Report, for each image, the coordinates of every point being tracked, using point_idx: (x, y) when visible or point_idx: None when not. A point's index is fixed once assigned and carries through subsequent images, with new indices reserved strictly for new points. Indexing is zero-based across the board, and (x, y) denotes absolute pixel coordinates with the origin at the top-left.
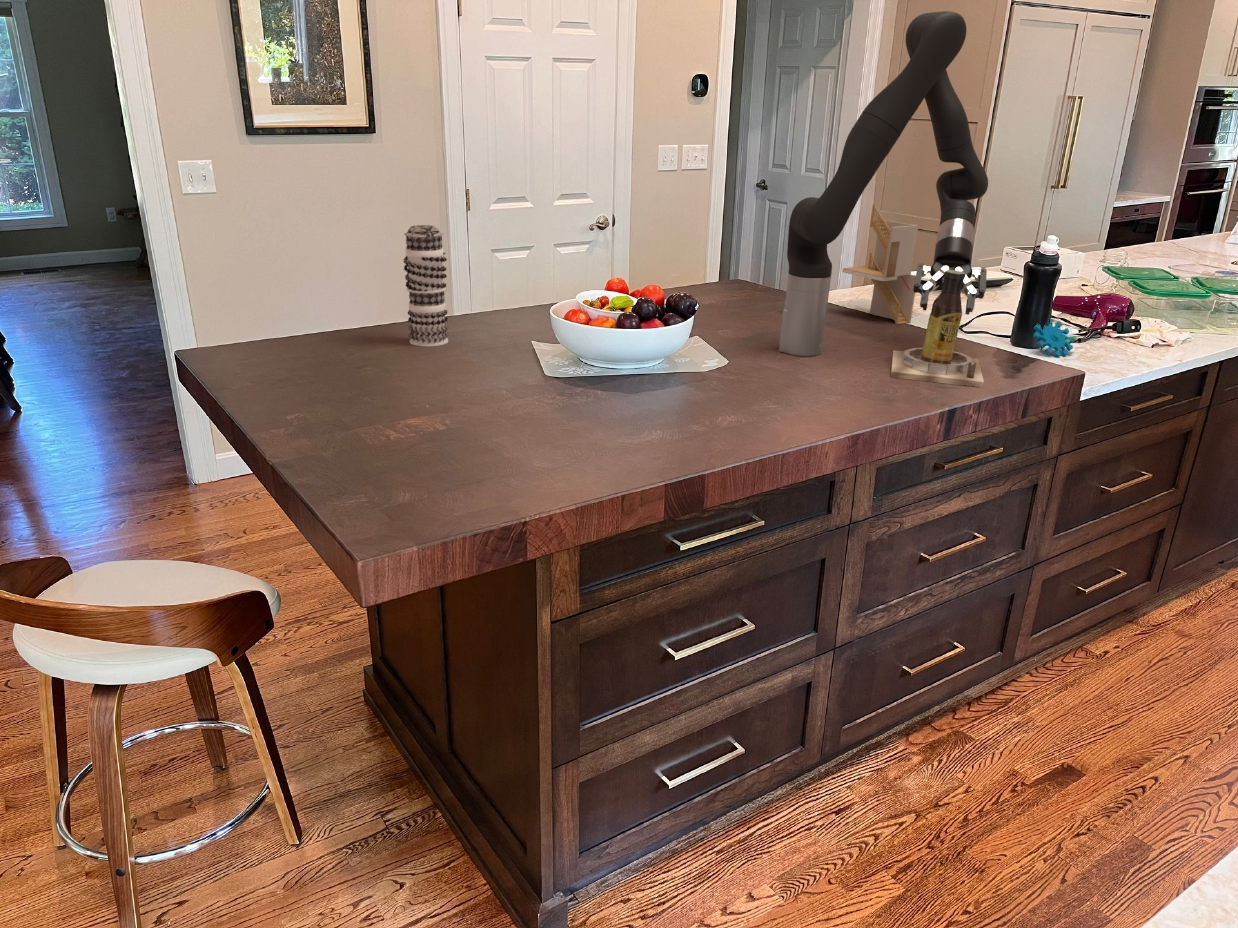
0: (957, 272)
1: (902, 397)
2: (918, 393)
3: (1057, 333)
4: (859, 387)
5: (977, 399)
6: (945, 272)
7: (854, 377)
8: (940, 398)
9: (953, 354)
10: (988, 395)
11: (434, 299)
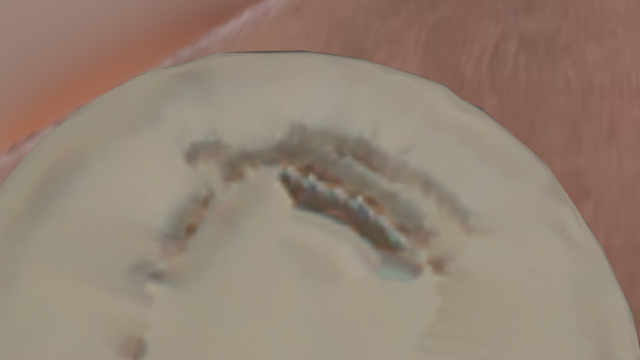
0: (250, 207)
1: (483, 7)
2: (430, 45)
3: None
4: (601, 79)
5: (266, 12)
6: (618, 355)
7: (617, 179)
8: (375, 10)
9: None
10: (215, 49)
11: None
